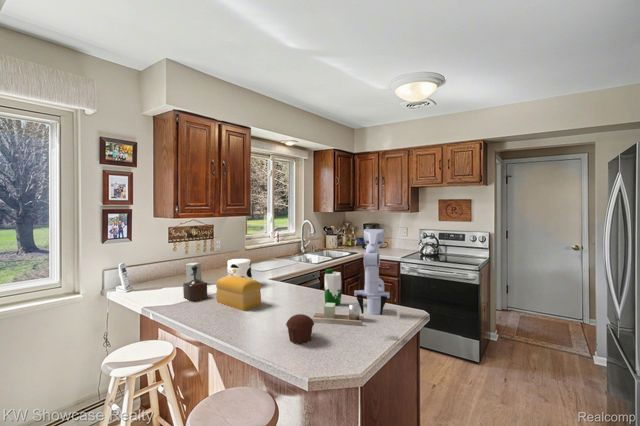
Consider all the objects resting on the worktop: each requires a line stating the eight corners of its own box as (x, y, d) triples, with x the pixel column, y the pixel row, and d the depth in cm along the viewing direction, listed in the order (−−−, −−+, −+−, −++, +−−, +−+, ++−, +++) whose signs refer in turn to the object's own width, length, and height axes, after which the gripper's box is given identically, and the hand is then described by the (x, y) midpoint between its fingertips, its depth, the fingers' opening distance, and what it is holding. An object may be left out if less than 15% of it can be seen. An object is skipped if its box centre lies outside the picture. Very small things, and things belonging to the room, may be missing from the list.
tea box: (324, 318, 153) (324, 306, 152) (326, 314, 159) (326, 302, 158) (333, 319, 152) (333, 306, 152) (335, 315, 158) (335, 303, 157)
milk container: (221, 289, 211) (220, 262, 211) (235, 282, 228) (235, 257, 227) (244, 291, 206) (243, 263, 206) (257, 284, 223) (256, 259, 222)
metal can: (349, 317, 155) (349, 302, 154) (360, 317, 154) (360, 303, 153) (348, 320, 150) (348, 306, 150) (359, 321, 149) (359, 306, 148)
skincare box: (202, 285, 220) (201, 262, 220) (193, 288, 214) (192, 264, 214) (194, 284, 225) (194, 261, 224) (185, 286, 219) (185, 263, 218)
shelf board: (315, 315, 161) (315, 309, 161) (363, 318, 156) (363, 312, 156) (309, 324, 149) (309, 317, 149) (361, 328, 144) (361, 321, 144)
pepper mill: (209, 298, 192) (208, 268, 191) (191, 302, 183) (190, 271, 183) (196, 293, 202) (196, 264, 202) (179, 297, 194) (178, 267, 193)
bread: (215, 302, 183) (215, 276, 182) (234, 297, 193) (233, 272, 192) (243, 311, 168) (243, 283, 167) (261, 305, 178) (261, 278, 178)
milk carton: (326, 302, 181) (326, 267, 181) (342, 303, 180) (342, 268, 179) (323, 307, 173) (323, 270, 172) (340, 308, 171) (339, 271, 170)
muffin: (314, 333, 138) (314, 311, 138) (314, 345, 127) (314, 320, 127) (286, 334, 138) (286, 311, 137) (284, 345, 127) (284, 320, 126)
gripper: (353, 282, 131) (353, 315, 131) (389, 284, 128) (389, 318, 128) (355, 278, 138) (355, 309, 138) (389, 280, 135) (389, 312, 135)
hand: (371, 313), depth 134 cm, fingers open, 7 cm apart
